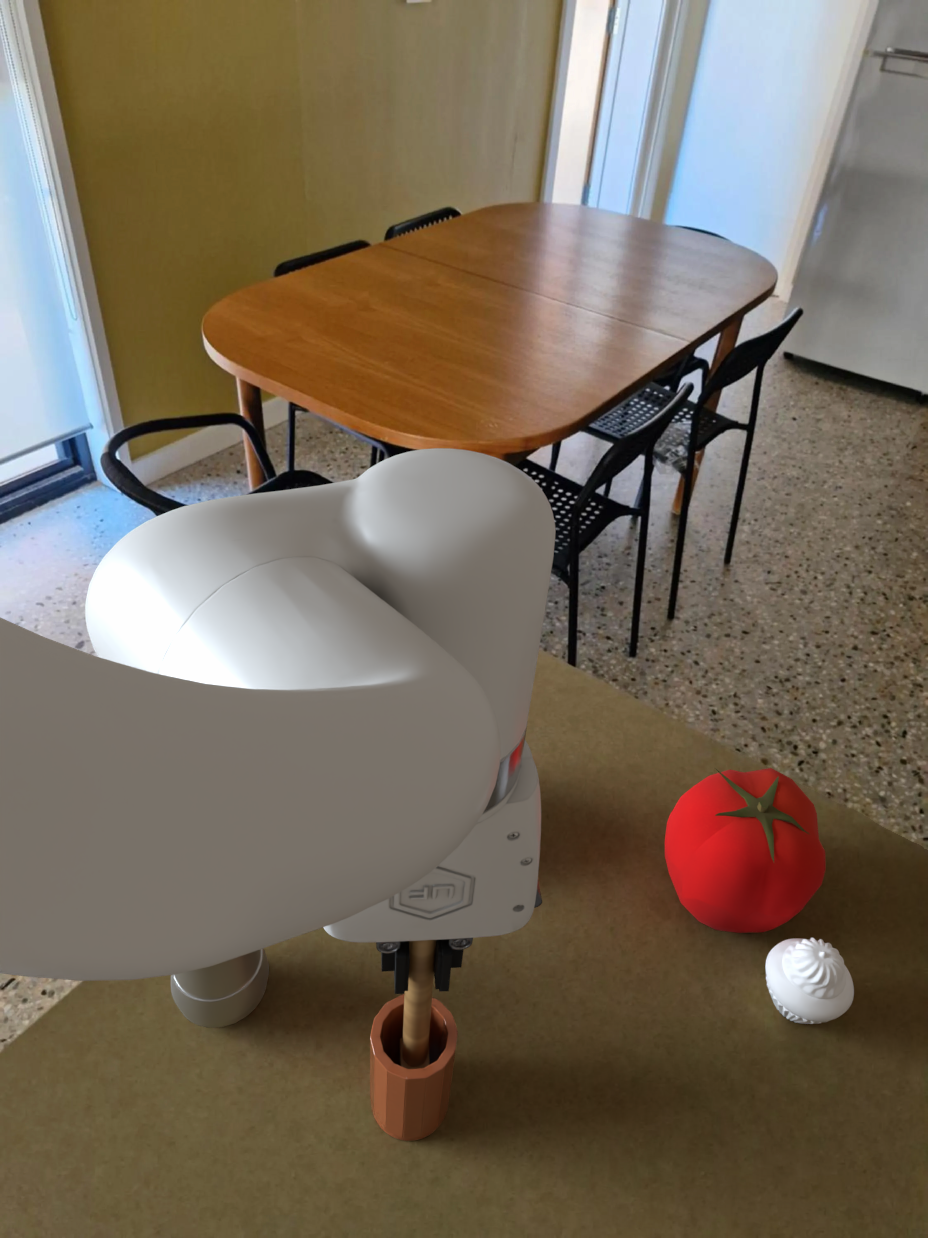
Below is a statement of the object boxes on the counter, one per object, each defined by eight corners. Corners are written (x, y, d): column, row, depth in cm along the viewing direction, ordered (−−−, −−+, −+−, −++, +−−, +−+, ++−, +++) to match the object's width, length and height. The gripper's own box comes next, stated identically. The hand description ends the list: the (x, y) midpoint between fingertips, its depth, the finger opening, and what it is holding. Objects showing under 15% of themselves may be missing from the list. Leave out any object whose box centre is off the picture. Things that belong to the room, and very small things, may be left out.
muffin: (742, 1015, 65) (769, 964, 61) (764, 950, 70) (791, 899, 65) (827, 1060, 63) (861, 1011, 59) (844, 991, 67) (878, 940, 63)
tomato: (621, 897, 73) (649, 806, 65) (698, 802, 81) (731, 712, 74) (759, 992, 67) (806, 904, 60) (827, 879, 75) (876, 790, 68)
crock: (452, 1138, 58) (461, 1076, 52) (370, 1144, 57) (370, 1082, 51) (446, 1057, 62) (454, 991, 56) (369, 1062, 61) (369, 995, 55)
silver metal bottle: (166, 975, 65) (117, 798, 52) (256, 939, 67) (231, 762, 55) (188, 1056, 60) (141, 884, 48) (284, 1014, 63) (263, 841, 51)
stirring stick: (428, 1092, 57) (442, 928, 45) (400, 1094, 56) (406, 930, 44) (426, 1057, 58) (439, 890, 46) (398, 1059, 58) (405, 892, 46)
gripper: (234, 817, 34) (270, 1045, 45) (637, 803, 35) (572, 1026, 47) (252, 680, 39) (280, 914, 51) (598, 674, 41) (548, 901, 53)
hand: (420, 966), depth 49 cm, fingers closed on stirring stick, 1 cm apart
